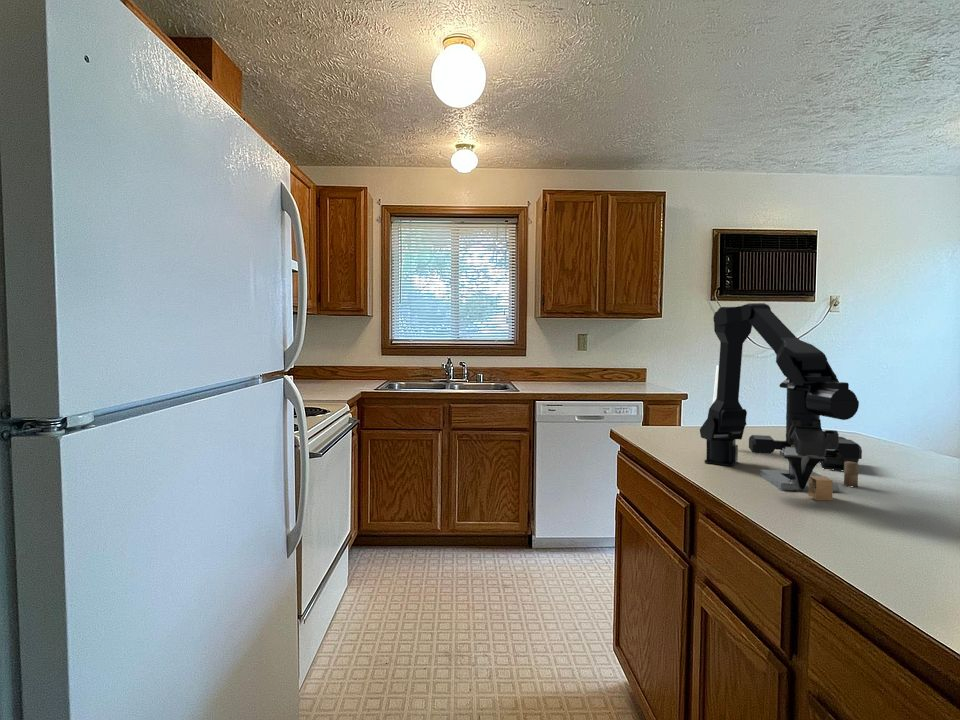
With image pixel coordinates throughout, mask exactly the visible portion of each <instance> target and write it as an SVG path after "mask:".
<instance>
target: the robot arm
mask: <svg viewBox="0 0 960 720" xmlns="http://www.w3.org/2000/svg"><path fill="white" fill-rule="evenodd" d="M712 319H713V330H714V334H715V335H716V337H717V339H718V340H719V343H720V346H719V347H720V348H719V357H718V358H719V361H718V365H719V372H718V386H717V398H716V400H715V401H714V403H713V402H712V403H711V406H710V407H709V409H708V412H707V418H706V420H704V423H703V424H702V425H701V427H700V428H699V434H700V438H701V439H704V440H706V456H705V457H706V459H705V460H704V461H703V463H706V464H713V465H720V466H727V467H728V466H729V467H732V466H733V465H735V464H736V463H737V462H738V459H739V453H738V452H739V445H738V444H736V440H738V441H739V440H742V439H743V434H744V432H745V427H746V426H747V415H748V412H747V409H746V408H743V406H742V405H741V402H739V396H740V386H741V371H742V358H743V347H744V346H743V345H744V343H745V341H746V340H747V338H748V337H749V336H750V335H751V333H752V328H754V330H755V331H756V332H757V333H758V334H759V335H760V337H761V338H762V339H763V340H764V341H765V342H766V343H767V345H768V346H769V347H770V348H771V349H772V350H773V351H774V353H775V354H776V355H775V356H776V357H775V363H776V364H777V366H778V368H779V369H780V371H781V373H782V374H783V376H784V377H786V379H785V380H783V381H782V382H780V384H779V388H782V389H786V405H785V406H786V407H785V408H786V414H785V419H786V421H785V422H786V423H785V440H777V439H776V440H775V439H773V437H771V435H762V434H761V435H760V434H752V435H750V436H748V437H749V438H748V449H749V450H750V451H751V452H752V454H754V453H755V454H764V455H765V454H766V455H771V454H772V453H773V452H775V450H779V454H780V456H781V457H783V458H784V459H785V460H787V461H788V464H789V463H790V465H791V467H792V469H793V472H794V475H795V477H796V480H797V483H798V486H799V488H800V489H804V488H805V486H806V484H807V481H808V479H809V477H810V474H811V473H812V471H813V470H814V469H815V467H816V466H817V465H818V464H820V461H826V458H825V457H824V456H825V455H826V452H831V453H838V454H839V455H840V456H841V457H842V458H848V459H859V460H861V459H863V449H862V447H861V445H860V444H859V443H857V442H855V441H854V440H852V439H848V438H846V439H839V437H840V436H839V432H838V430H834V429H833V430H830V429H829V430H826V429H825V430H823V429H822V423H821V419H820V418H821V417H826V418H832V419H837V420H841V421H846V420H850V419H852V418H853V417H854V416H855V415H856V413H857V412H858V409H859V405H860V402H859V399H858V397H857V395H856V393H855V392H854V391H853V390H851V389H849V387H850V386H849V382H844V381H842V382H841V381H839V379H838V376H837V374H836V373H835V372H834V371H833V370H834V369H832V367H831V365H830V363H829V361H828V358H827V356H826V354H825V353H824V352H823V351H822V350H820V349H819V348H817V347H816V346H815V345H814V344H811V343H809V342H807V341H803V340H800V339H799V338H798V337H797V336H796V335H795V334H794V333H793V332H792V331H791V330H790V329H789V328H788V326H786V325H785V324H784V322H783V321H781V320H780V319H779V317H778V316H776V314H775V313H774V311H772V309H771V306H770V305H769V304H766V303H764V302H763V303H762V302H758V303H757V302H755V303H754V302H753V303H751V302H750V303H747V304H743V305H738V306H721V307H719V308H718V309H717V310H716V311H715V313H714V315H713V318H712ZM820 416H821V417H820ZM799 455H801V456H802V457H801V456H799ZM801 461H802V464H801ZM813 472H814V471H813Z"/></svg>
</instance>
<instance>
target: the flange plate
mask: <svg viewBox="0 0 960 720" xmlns="http://www.w3.org/2000/svg"><path fill="white" fill-rule="evenodd" d="M760 477H762V478H763V479H764V480H766V481H767V482H768V483H770V484H771V485H773V486H774V487H776V488H777V489H778V490H780V491H794V490H796V491H798V492H800V491H801V492H804V493H806V494H807V495H808V496H809V497H811V498H812V499H814V500H815V501H833V492H832V491H839V484H838V483H836V482H834V480H833V479H831V478H829V477H827V476H825V475H824V476H823V475H821V474H819V473H817V472H815V471H812V473H811V474H810V477H809V479H808V481H807V484H806V486H805V488H804V489H800V488H799V486H798V483H797V480H790V479H789V469H760ZM796 491H795V492H796Z"/></svg>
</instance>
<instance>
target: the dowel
mask: <svg viewBox="0 0 960 720" xmlns="http://www.w3.org/2000/svg"><path fill="white" fill-rule="evenodd" d="M843 473H844V474H843V480H844V481H843V486H845V485H847V486H846V487H848V486H853V487H852V488H857V487H856V486H859V484H858V483H859V462H858V463H856V462H850V461H846V462H844V471H843Z"/></svg>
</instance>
